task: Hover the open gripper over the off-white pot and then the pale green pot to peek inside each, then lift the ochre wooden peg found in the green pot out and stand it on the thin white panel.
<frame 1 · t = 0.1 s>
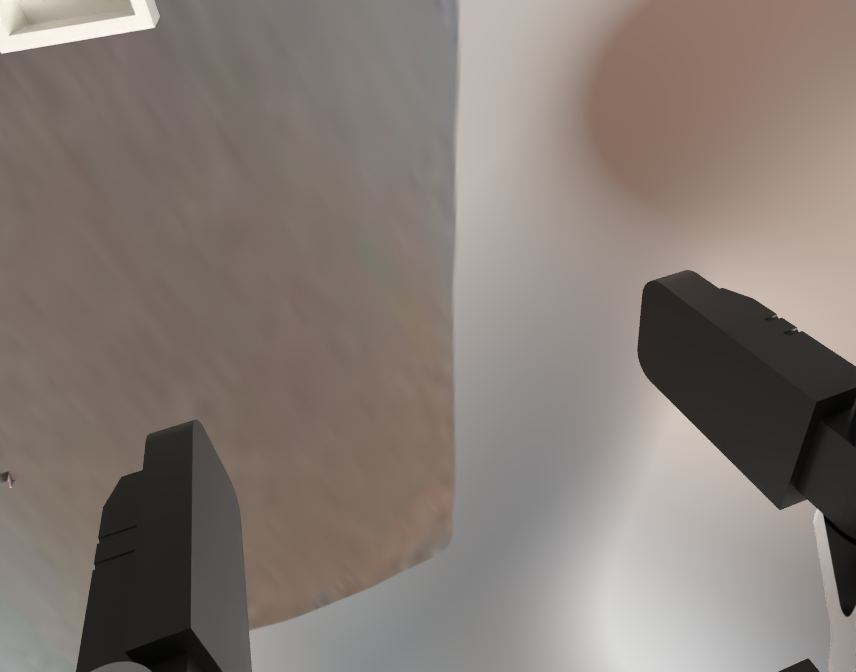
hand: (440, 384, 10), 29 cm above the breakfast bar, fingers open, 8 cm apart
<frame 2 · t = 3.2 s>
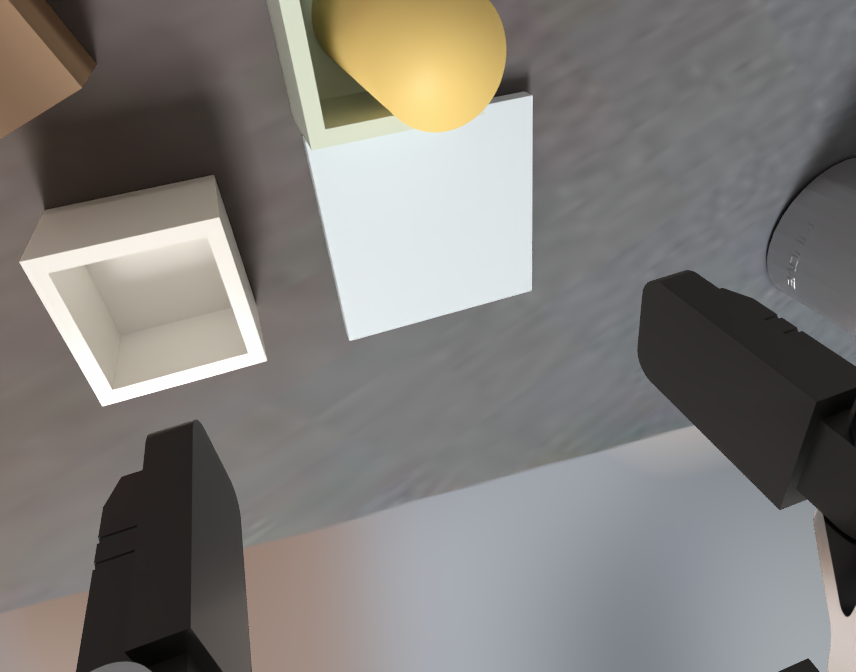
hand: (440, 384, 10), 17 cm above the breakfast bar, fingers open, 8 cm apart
thin white panel: (429, 220, 28), on the breakfast bar
pot white: (161, 262, 25), on the breakfast bar
peg: (359, 17, 22), point 1 cm above the breakfast bar, touching pot green
pot green: (356, 15, 23), on the breakfast bar
walnut block: (0, 38, 20), on the breakfast bar
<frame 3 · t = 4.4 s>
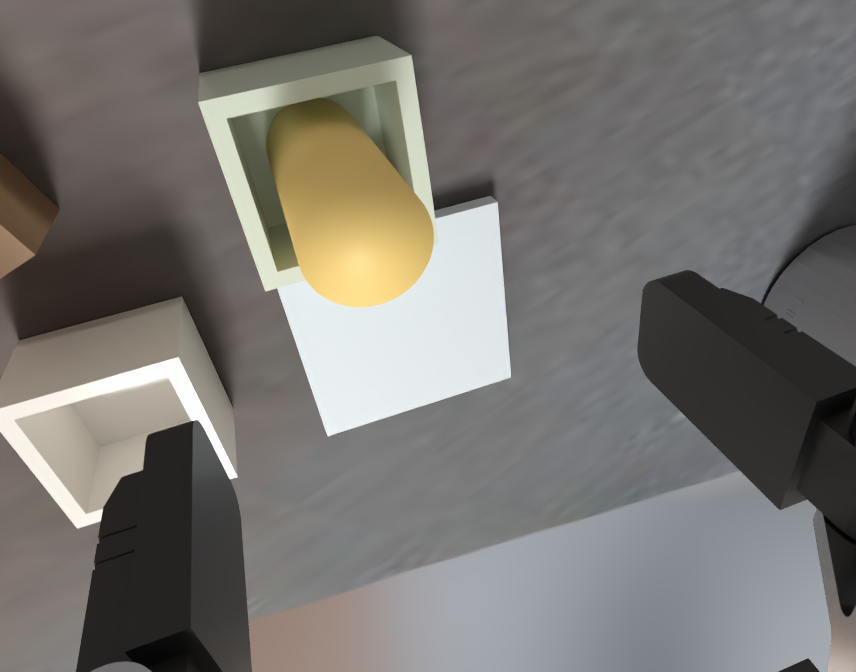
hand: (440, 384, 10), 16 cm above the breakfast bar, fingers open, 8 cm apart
thin white panel: (401, 319, 29), on the breakfast bar
pot white: (135, 377, 26), on the breakfast bar
peg: (315, 147, 23), point 1 cm above the breakfast bar, touching pot green
pot green: (313, 143, 23), on the breakfast bar
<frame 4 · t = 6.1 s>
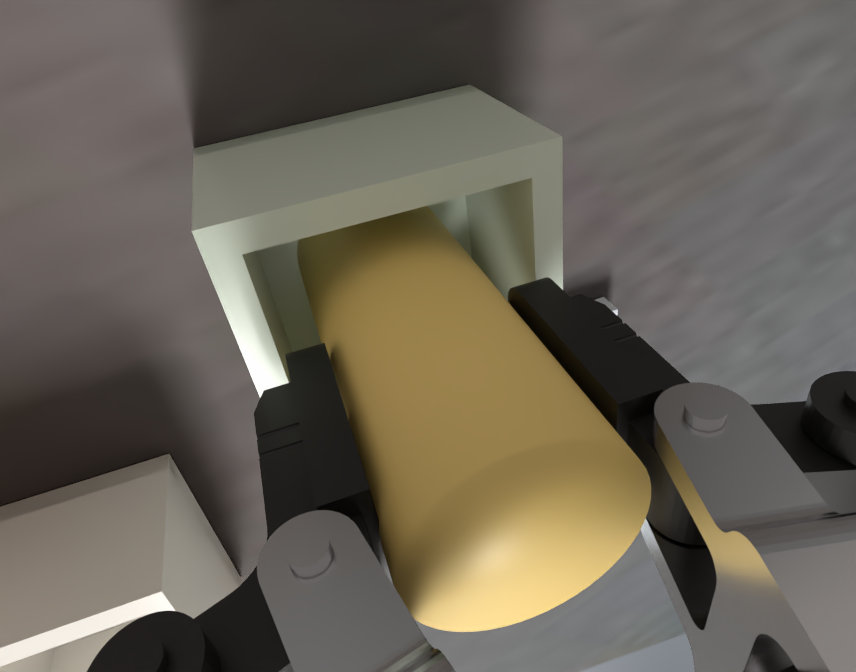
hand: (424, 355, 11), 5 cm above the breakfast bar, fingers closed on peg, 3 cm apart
pot white: (104, 557, 18), on the breakfast bar
peg: (370, 251, 15), point 1 cm above the breakfast bar, touching gripper, pot green
pot green: (365, 241, 15), on the breakfast bar
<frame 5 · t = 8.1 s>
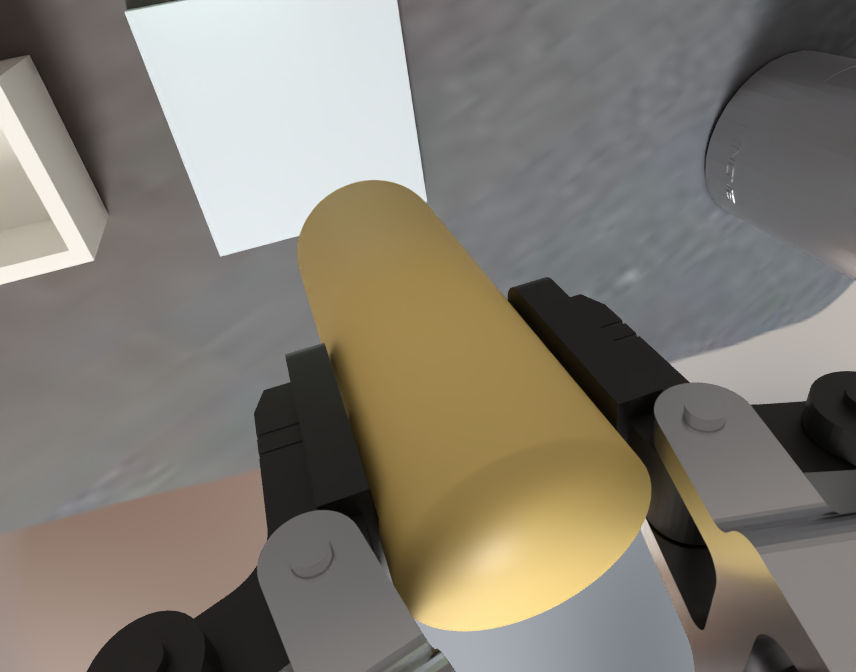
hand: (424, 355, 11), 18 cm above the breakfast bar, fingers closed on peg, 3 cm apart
thin white panel: (296, 116, 26), on the breakfast bar
peg: (370, 250, 15), point 14 cm above the breakfast bar, touching gripper
when the fingers open (6 cm above the breakfast bar, at t = 10.2 s): peg stays where it is, resting on thin white panel.
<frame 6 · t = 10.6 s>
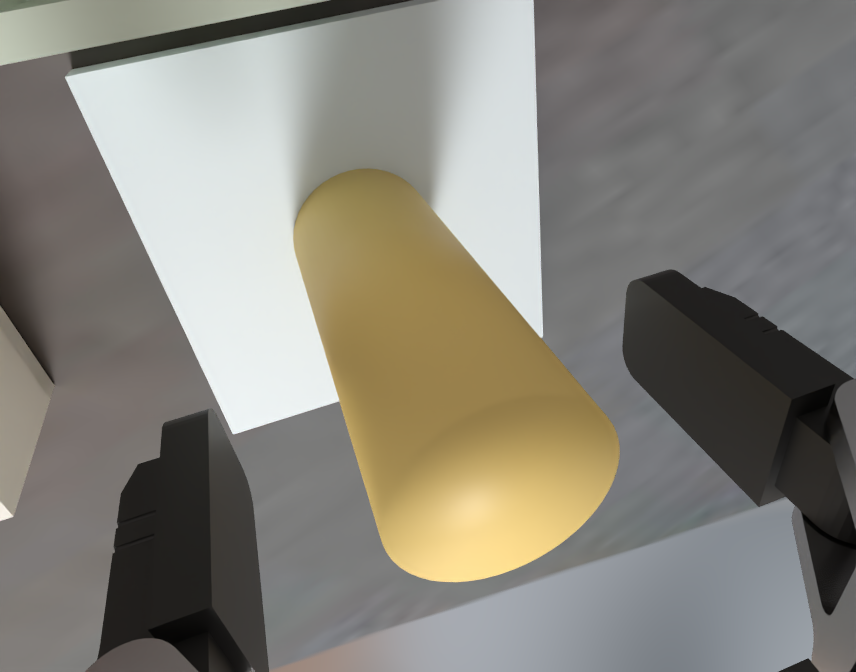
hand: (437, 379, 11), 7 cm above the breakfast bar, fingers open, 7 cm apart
thin white panel: (356, 226, 16), on the breakfast bar
peg: (363, 237, 15), point 1 cm above the breakfast bar, touching thin white panel
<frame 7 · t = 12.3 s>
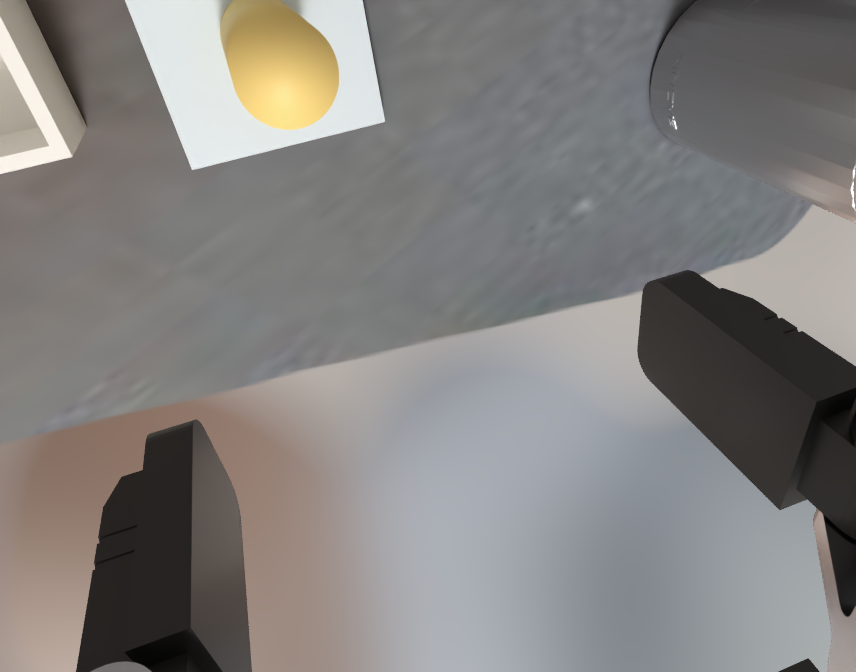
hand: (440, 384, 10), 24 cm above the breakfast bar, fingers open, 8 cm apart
thin white panel: (259, 35, 28), on the breakfast bar
peg: (261, 37, 27), point 1 cm above the breakfast bar, touching thin white panel
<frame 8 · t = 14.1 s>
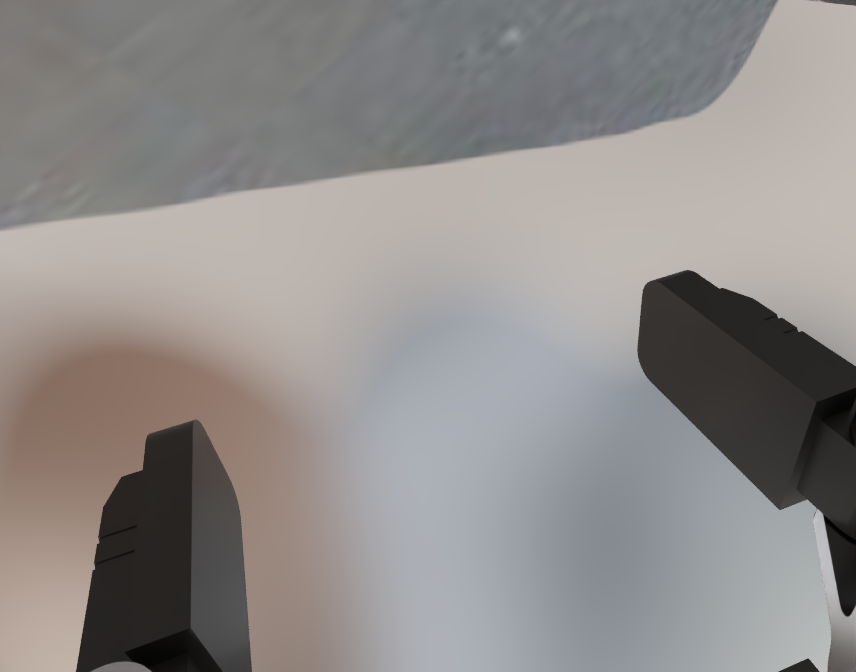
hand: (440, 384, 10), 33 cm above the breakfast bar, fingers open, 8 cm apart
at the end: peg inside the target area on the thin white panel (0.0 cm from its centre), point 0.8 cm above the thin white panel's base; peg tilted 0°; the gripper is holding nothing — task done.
